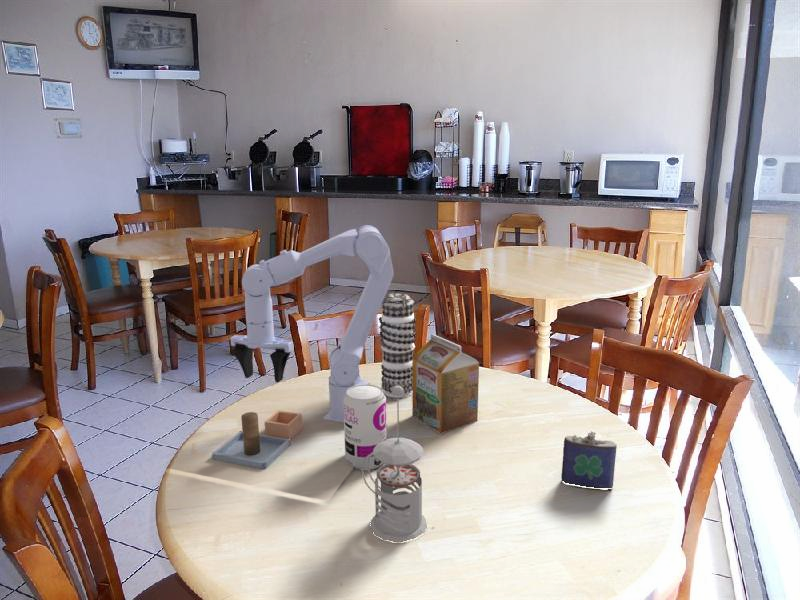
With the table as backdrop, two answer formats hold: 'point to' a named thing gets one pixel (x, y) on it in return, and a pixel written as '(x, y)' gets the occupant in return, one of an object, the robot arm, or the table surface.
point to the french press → (397, 487)
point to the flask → (588, 461)
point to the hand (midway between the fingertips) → (264, 378)
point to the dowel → (250, 433)
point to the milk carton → (444, 385)
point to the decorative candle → (397, 343)
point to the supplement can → (364, 424)
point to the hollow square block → (283, 424)
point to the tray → (235, 454)
